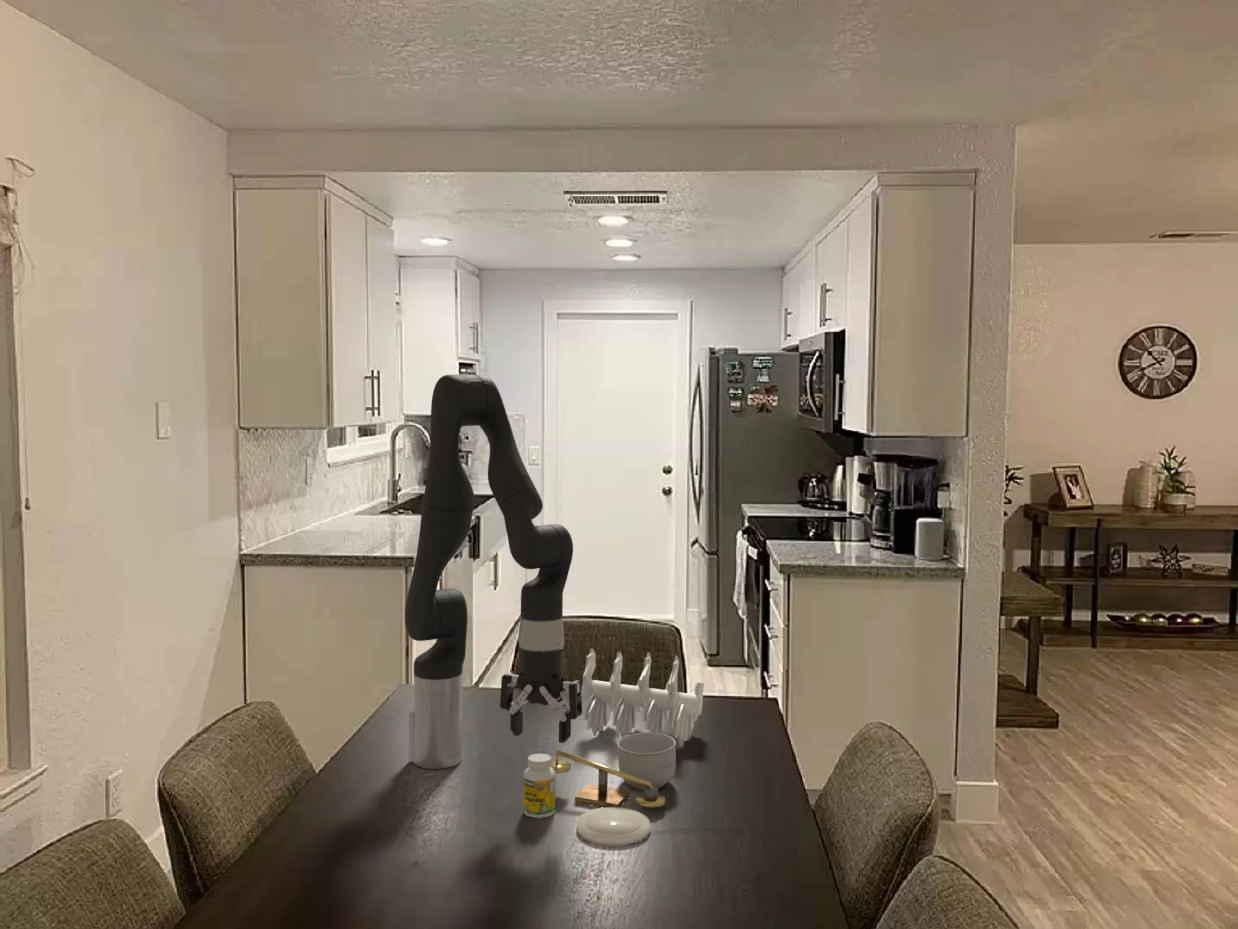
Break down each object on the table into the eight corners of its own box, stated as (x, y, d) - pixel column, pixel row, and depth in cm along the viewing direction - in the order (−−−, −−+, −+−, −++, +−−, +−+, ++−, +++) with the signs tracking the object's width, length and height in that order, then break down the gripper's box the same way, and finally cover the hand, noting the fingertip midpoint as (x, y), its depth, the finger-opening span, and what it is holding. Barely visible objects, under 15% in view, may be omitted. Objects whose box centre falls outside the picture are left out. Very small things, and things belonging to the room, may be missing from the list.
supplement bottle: (559, 808, 172) (560, 754, 171) (547, 821, 167) (548, 765, 166) (530, 804, 174) (531, 750, 173) (518, 816, 168) (518, 761, 168)
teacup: (670, 798, 177) (671, 754, 177) (610, 792, 180) (611, 748, 179) (681, 769, 191) (682, 728, 190) (625, 763, 193) (626, 723, 193)
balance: (536, 796, 177) (537, 753, 176) (551, 783, 183) (551, 742, 182) (658, 818, 169) (659, 773, 168) (669, 805, 174) (670, 761, 174)
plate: (564, 838, 161) (564, 829, 161) (593, 809, 172) (593, 801, 172) (634, 852, 156) (634, 843, 156) (659, 821, 168) (659, 814, 168)
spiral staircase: (693, 769, 202) (574, 750, 207) (707, 708, 216) (595, 692, 222) (693, 701, 193) (568, 684, 198) (708, 643, 207) (591, 627, 213)
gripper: (493, 644, 167) (492, 739, 168) (570, 653, 162) (569, 751, 163) (513, 634, 174) (513, 726, 175) (589, 643, 169) (588, 737, 170)
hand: (540, 738), depth 169 cm, fingers open, 8 cm apart
